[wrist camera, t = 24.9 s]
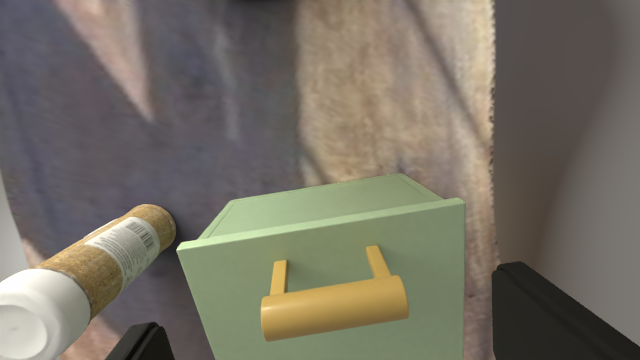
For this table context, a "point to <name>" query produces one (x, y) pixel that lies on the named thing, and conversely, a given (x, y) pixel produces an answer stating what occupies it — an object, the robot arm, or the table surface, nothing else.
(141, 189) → the table surface
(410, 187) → the bread box
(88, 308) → the sprinkles bottle
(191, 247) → the lid
